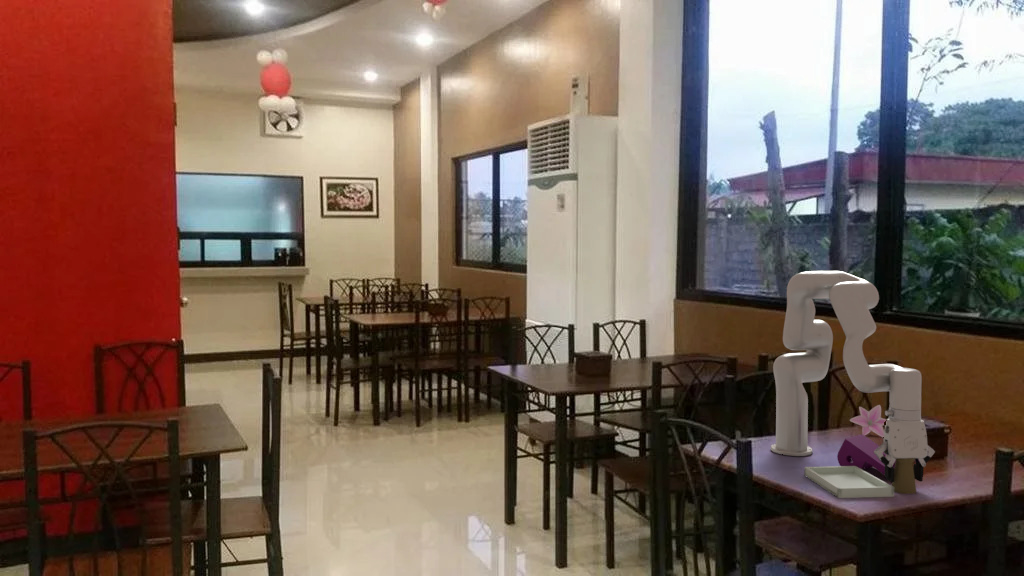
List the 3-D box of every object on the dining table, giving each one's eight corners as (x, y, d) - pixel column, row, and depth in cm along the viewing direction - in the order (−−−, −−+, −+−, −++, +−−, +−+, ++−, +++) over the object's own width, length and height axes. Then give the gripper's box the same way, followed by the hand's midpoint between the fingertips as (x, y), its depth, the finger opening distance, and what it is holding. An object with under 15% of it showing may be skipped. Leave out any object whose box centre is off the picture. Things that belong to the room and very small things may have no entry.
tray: (804, 475, 218) (804, 467, 218) (855, 474, 218) (855, 465, 218) (838, 498, 198) (838, 488, 198) (894, 496, 199) (894, 487, 198)
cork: (910, 487, 207) (911, 447, 206) (920, 494, 201) (921, 452, 200) (887, 486, 207) (888, 446, 207) (896, 493, 201) (897, 452, 201)
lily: (844, 435, 269) (849, 415, 264) (856, 418, 277) (862, 397, 271) (878, 450, 262) (885, 430, 257) (891, 432, 270) (897, 412, 264)
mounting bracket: (903, 495, 218) (850, 456, 231) (917, 472, 215) (862, 434, 228) (886, 501, 213) (833, 461, 225) (900, 478, 209) (845, 438, 222)
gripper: (881, 418, 199) (879, 485, 199) (945, 417, 200) (943, 483, 200) (866, 412, 206) (865, 477, 207) (927, 411, 207) (926, 475, 208)
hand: (903, 479), depth 204 cm, fingers open, 7 cm apart
